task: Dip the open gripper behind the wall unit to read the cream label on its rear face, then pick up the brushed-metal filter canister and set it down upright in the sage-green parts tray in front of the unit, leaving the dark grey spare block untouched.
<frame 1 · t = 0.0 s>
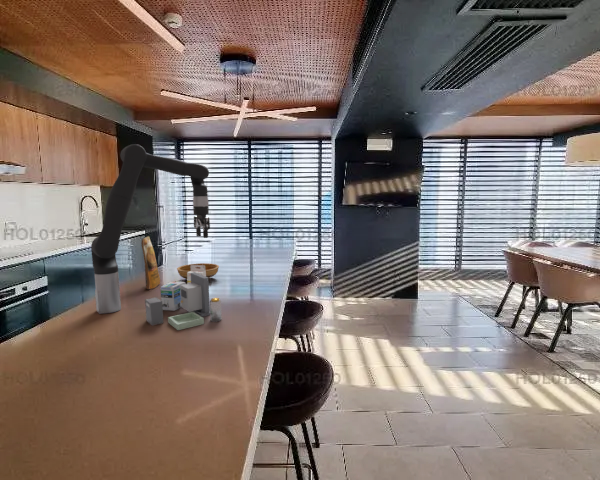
hand: (202, 237, 182), 29 cm above the table, fingers open, 8 cm apart
ink cartridge box: (197, 294, 183), on the table
filter canister: (216, 319, 145), on the table
grey spare block: (154, 321, 143), on the table
parts tray: (186, 323, 141), on the table
wall unit: (200, 310, 156), on the table
light bulb box: (174, 307, 162), on the table
pancake mix bag: (152, 286, 200), on the table
tan wooden bowl: (198, 280, 213), on the table
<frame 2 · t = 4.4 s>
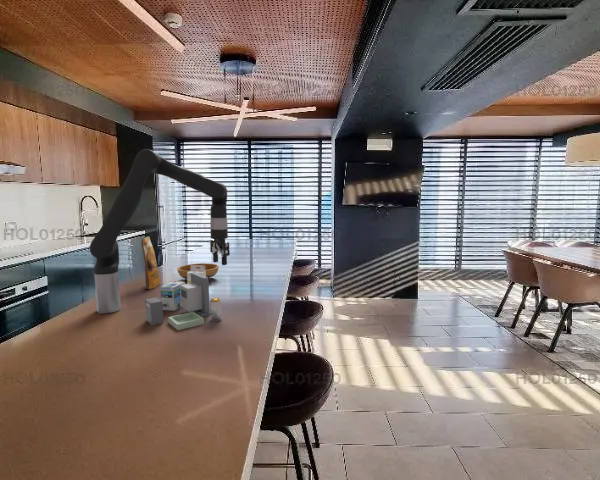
hand: (219, 263, 160), 20 cm above the table, fingers open, 8 cm apart
nothing on the table moved.
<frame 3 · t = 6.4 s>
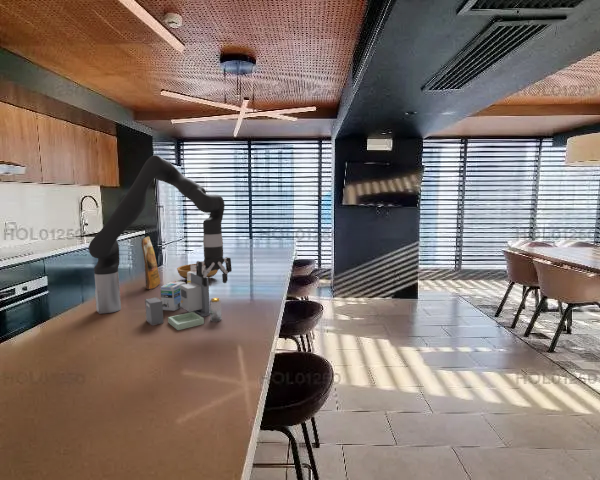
hand: (214, 284, 143), 15 cm above the table, fingers open, 8 cm apart
nothing on the table moved.
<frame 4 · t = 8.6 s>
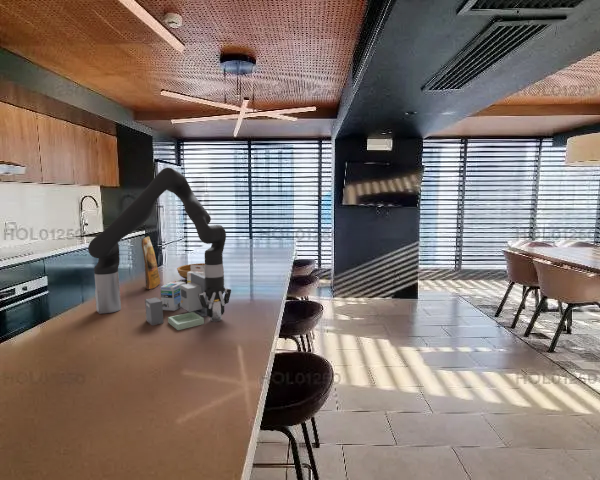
hand: (215, 315, 145), 2 cm above the table, fingers closed on filter canister, 4 cm apart
filter canister: (216, 319, 145), on the table, touching gripper
everything else where it was.
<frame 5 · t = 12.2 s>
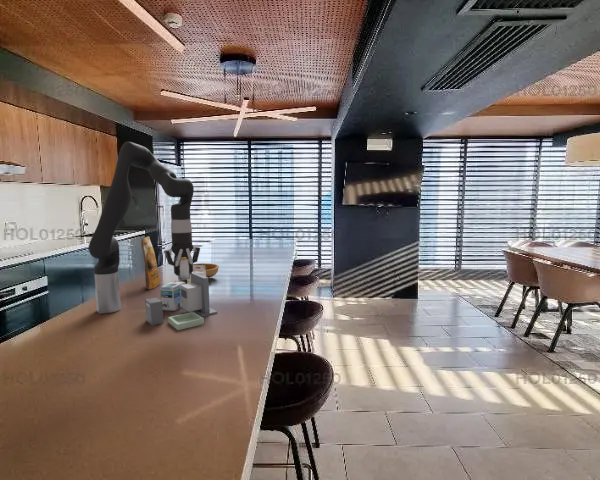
hand: (183, 274, 138), 20 cm above the table, fingers closed on filter canister, 4 cm apart
filter canister: (184, 278, 139), point 18 cm above the table, touching gripper
everything else where it was.
when the fingers open (4 cm above the table, at t = 15.8 s): filter canister drops 1 cm, resting on parts tray.
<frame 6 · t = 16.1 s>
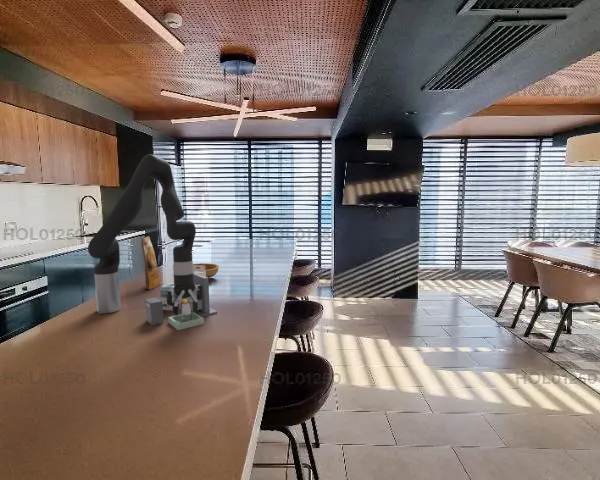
hand: (185, 312, 140), 4 cm above the table, fingers open, 7 cm apart
filter canister: (186, 322, 141), point 1 cm above the table, touching parts tray
everything else where it was.
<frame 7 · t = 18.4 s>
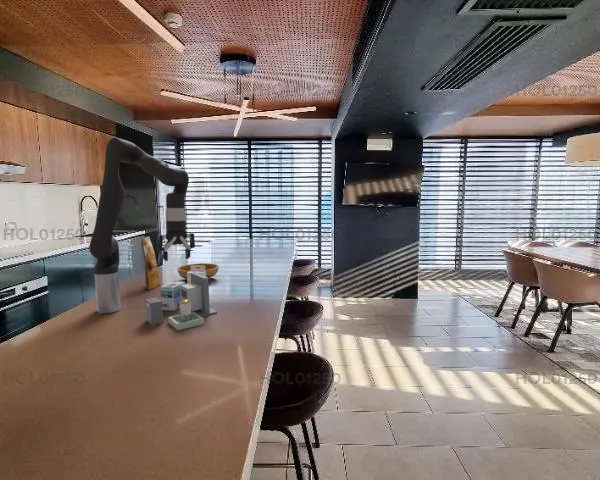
hand: (176, 259, 142), 25 cm above the table, fingers open, 8 cm apart
nothing on the table moved.
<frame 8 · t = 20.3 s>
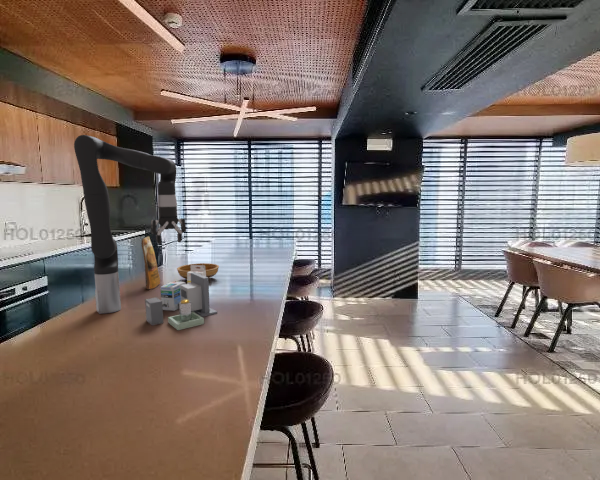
hand: (169, 243, 154), 30 cm above the table, fingers open, 8 cm apart
nothing on the table moved.
at the end: filter canister inside the target area on the parts tray (0.0 cm from its centre), point 0.5 cm above the parts tray's base; filter canister tilted 0°; the gripper is holding nothing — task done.
